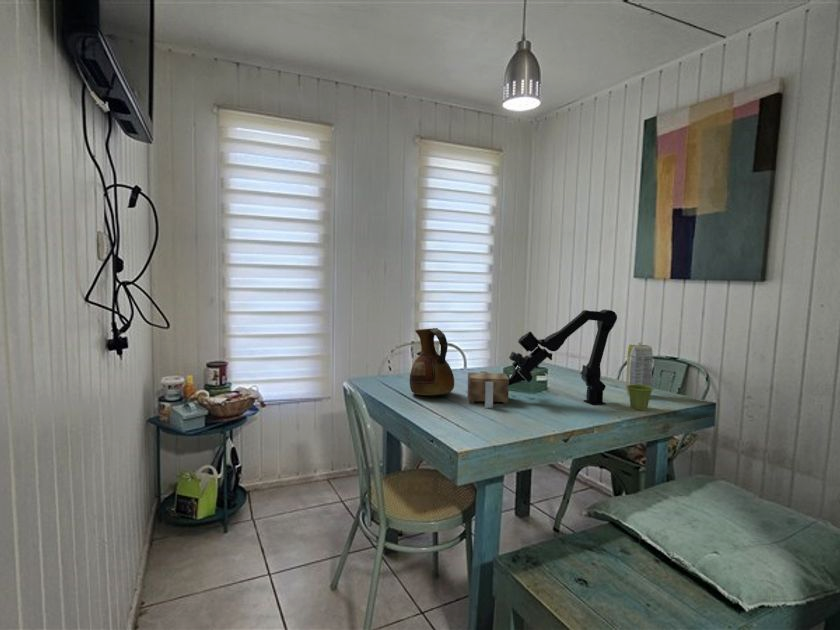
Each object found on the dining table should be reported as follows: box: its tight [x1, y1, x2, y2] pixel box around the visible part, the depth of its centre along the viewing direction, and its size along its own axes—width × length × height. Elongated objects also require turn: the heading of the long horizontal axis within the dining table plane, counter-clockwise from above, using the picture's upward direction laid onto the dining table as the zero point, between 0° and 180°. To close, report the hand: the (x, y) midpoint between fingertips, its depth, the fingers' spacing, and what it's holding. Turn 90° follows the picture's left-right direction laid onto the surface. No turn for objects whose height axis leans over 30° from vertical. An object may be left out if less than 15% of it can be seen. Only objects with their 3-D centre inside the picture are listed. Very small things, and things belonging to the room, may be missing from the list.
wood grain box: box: [466, 372, 510, 405], centre depth 197 cm, size 16×12×10 cm
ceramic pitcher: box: [409, 327, 455, 396], centre depth 204 cm, size 20×20×30 cm
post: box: [484, 382, 494, 409], centre depth 186 cm, size 3×3×10 cm
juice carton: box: [625, 342, 654, 397], centre depth 207 cm, size 9×8×24 cm
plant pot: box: [627, 385, 654, 411], centre depth 187 cm, size 9×9×9 cm
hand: (507, 384), depth 197 cm, fingers closed, pressing on wood grain box
